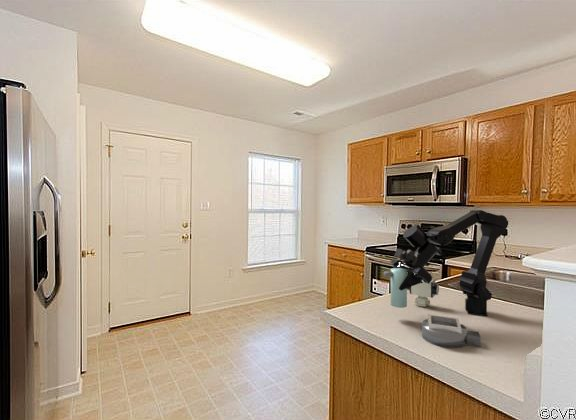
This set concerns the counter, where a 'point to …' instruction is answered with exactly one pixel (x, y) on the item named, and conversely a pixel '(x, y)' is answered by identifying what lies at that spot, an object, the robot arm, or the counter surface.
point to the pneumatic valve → (424, 292)
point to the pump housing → (397, 287)
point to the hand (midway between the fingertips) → (395, 287)
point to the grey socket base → (448, 332)
